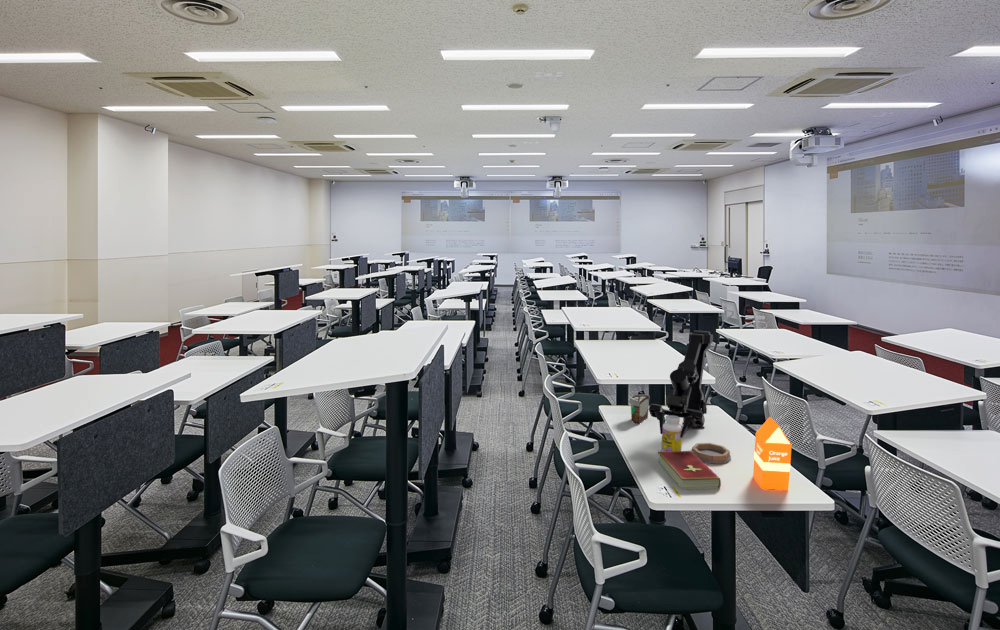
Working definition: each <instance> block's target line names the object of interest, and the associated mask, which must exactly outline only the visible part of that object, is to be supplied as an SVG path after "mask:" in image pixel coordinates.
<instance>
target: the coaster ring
mask: <svg viewBox="0 0 1000 630" xmlns="http://www.w3.org/2000/svg"><path fill="white" fill-rule="evenodd" d="M690 451H692V452H693V453H694V454H695V455H696V456H697V457H698V458H699V459H700V460H701V461H702V462H703V463H704V464H713V465H723V464H727V463H729V462H731V460H732V457H731V454H730V453H731V451H730V450H729V449H728V448H726V447H725V446H724V445H720V444H716V443H711V442H700V443H699V442H698V443H695V444H694V445H693V446H692V447H691V450H690Z"/></svg>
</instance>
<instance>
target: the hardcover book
mask: <svg viewBox="0 0 1000 630" xmlns="http://www.w3.org/2000/svg"><path fill="white" fill-rule="evenodd" d="M657 453H658V456H659V457H658V463H659V462H660V463H659V464H660V465H661V466H662V468H663V469H666V470H667V471H668V472H667V471H666V470H665V471H666V472H667V473H668V475H669V476H670V477H671V476H672V477H673V478H672V477H671V478H672V479H673V480H674V482H675V483H676V484H677V483H678V484H677V485H678V486H679V487H680V489H681V490H704V489H709V490H710V489H718V490H720V489H721V484H722V483H721V478H720V477H719V476H718V475H717V474H716V473H715V472H714V471H713V470H712V469H711V468H710V467H709V466H708V465H707V464H706V463H705V462H702V461H701V460H700V459H699V458H698V457H697V456H696V455H695V454H694V453H693V452H692V451H691V450H681V451H666V452H663V451H657Z"/></svg>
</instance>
